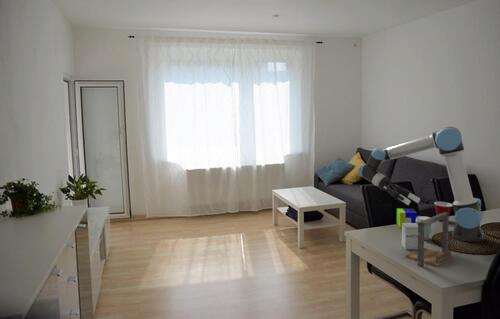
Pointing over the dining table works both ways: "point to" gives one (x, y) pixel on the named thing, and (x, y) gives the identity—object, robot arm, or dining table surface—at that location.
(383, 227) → the dining table surface
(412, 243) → the supplement box
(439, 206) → the plastic cup
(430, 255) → the keeper arch
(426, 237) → the coffee cup
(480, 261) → the dining table surface
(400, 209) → the puzzle toy
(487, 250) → the dining table surface
